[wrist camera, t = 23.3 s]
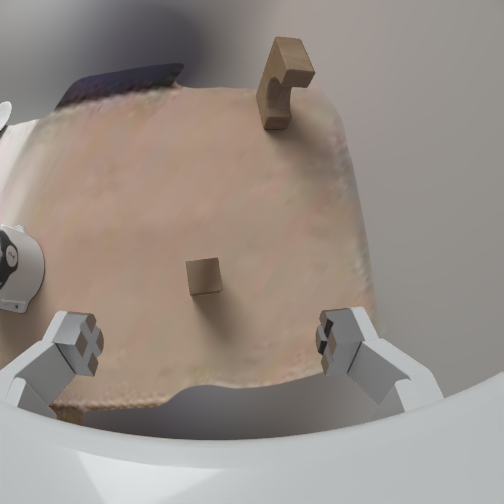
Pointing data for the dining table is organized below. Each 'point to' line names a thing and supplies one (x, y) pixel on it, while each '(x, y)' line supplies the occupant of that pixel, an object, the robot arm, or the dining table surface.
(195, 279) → the walnut block
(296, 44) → the decorative block
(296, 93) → the dining table surface
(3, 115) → the white slender handled part
